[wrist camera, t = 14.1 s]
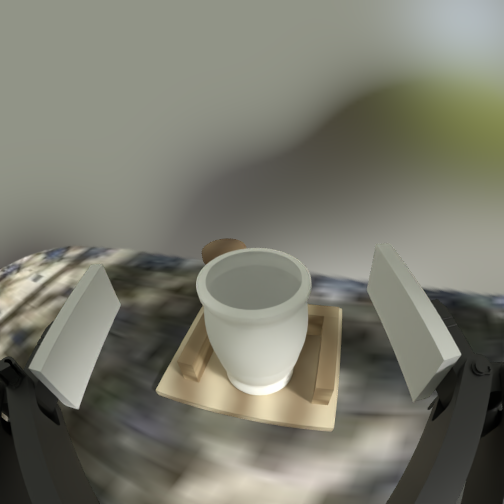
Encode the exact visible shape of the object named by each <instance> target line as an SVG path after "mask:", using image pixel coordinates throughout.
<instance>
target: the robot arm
mask: <svg viewBox="0 0 504 504" xmlns="http://www.w3.org/2000/svg"><path fill="white" fill-rule="evenodd" d="M367 292H368V294H369V296H370V298H371V300H372V302H373V304H374V307H375V309H376V311H377V313H378V315H379V318H380V320H381V322H382V324H383V327H384V329H385V331H386V333H387V336H388V338H389V341H390V343H391V345H392V348H393V350H394V353H395V355H396V358H397V360H398V363H399V365H400V368H401V370H402V373H403V376H404V378H405V381H406V384H407V386H408V389H409V392H410V395H411V397H412V400H413V402H416V401H419V400H422V399H425V398H428V397H430V396H431V394H432V393H433V392H434V391H435V389H436V391H437V393H438V396H437V397H436V399H435V400H434V401H433V402H432V403H431V404H430V406H429V407H428V410H430V409H431V408H432V407H433V408H432V411H431V414H430V416H429V419H428V422H427V424H426V427H425V429H424V432H423V434H422V436H421V439H420V441H419V443H418V445H417V448H416V450H415V452H414V454H413V456H412V458H411V460H410V462H409V464H408V466H407V468H406V470H405V472H404V474H403V476H402V477H401V479H400V481H399V483H398V485H397V486H396V488H395V490H394V491H393V493H392V495H391V496H390V498H389V500H388V501H387V503H386V504H456V502H457V500H458V498H459V496H460V494H461V491H462V489H463V487H464V484H465V482H466V484H465V488H464V493H463V497H462V501H461V504H504V362H497V363H490V361H489V360H488V359H487V358H486V357H484V356H483V355H480V354H475V353H474V352H473V350H472V349H471V347H470V345H469V343H468V342H467V340H466V338H465V336H464V335H463V333H462V331H461V330H460V328H459V326H457V323H456V321H455V320H454V318H452V315H451V313H450V312H449V310H448V309H447V307H446V306H445V305H443V304H442V303H441V302H440V301H439V300H437V299H436V300H431V301H430V300H429V298H428V296H427V295H426V293H425V292H424V290H423V289H422V287H421V286H420V284H419V283H418V281H417V280H416V279H415V277H414V276H413V274H412V273H411V271H410V270H409V268H408V267H407V266H406V264H405V263H404V261H403V260H402V259H401V257H400V256H399V255H398V253H397V252H396V250H395V249H394V248H393V247H392V245H391V244H390V243H386V244H385V243H383V244H376V246H375V252H374V257H373V262H372V267H371V272H370V277H369V282H368V287H367ZM120 306H121V304H120V302H119V300H118V298H117V296H116V294H115V291H114V289H113V287H112V285H111V283H110V280H109V278H108V276H107V273H106V271H105V269H104V266H103V264H94V265H90V267H89V268H88V270H87V271H86V273H85V274H84V275H83V277H82V278H81V280H80V281H79V283H78V284H77V286H76V287H75V289H74V290H73V292H72V293H71V295H70V296H69V298H68V299H67V301H66V302H65V304H64V306H63V307H62V309H61V310H60V312H59V314H58V315H57V317H56V319H55V320H54V321H53V322H52V323H51V324H50V325H49V326H48V327H47V328H46V329H45V331H44V332H43V334H42V336H41V339H40V340H39V341H38V343H37V345H36V347H35V349H34V350H33V352H32V354H31V356H30V358H29V360H28V362H27V364H26V366H25V368H24V370H23V369H22V368H21V367H20V366H19V365H18V364H17V362H16V361H15V360H14V359H13V358H12V357H5V358H3V359H2V360H1V361H0V504H100V503H99V501H98V499H97V497H96V496H95V494H94V492H93V490H92V488H91V486H90V484H89V482H88V480H87V478H86V475H85V473H84V471H83V469H82V467H81V464H80V462H79V460H78V457H77V455H76V452H75V450H74V447H73V445H72V442H71V439H70V437H69V434H68V431H67V428H66V425H65V422H64V419H63V416H62V412H61V409H60V407H59V405H58V404H57V401H58V399H59V400H60V401H61V402H62V403H63V404H64V405H66V406H68V407H72V408H75V409H79V406H80V403H81V400H82V398H83V395H84V392H85V389H86V386H87V384H88V381H89V378H90V376H91V373H92V371H93V368H94V365H95V363H96V360H97V358H98V356H99V353H100V351H101V348H102V346H103V344H104V341H105V339H106V337H107V334H108V332H109V330H110V327H111V325H112V323H113V321H114V319H115V316H116V314H117V312H118V310H119V308H120ZM501 404H502V408H501ZM2 412H3V413H4V414H5V415H6V416H8V422H7V421H5V420H4V419H3V418H2V417H1V414H2Z"/></svg>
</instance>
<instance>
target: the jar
mask: <svg viewBox="0 0 504 504" xmlns="http://www.w3.org/2000/svg"><path fill="white" fill-rule="evenodd" d="M196 289H197V293H198V296H199V299H200V301H201V303H202V305H203V306H204V318H205V326H206V331H207V334H208V338H209V341H210V343H211V345H212V348H213V350H214V351H215V353H216V355H217V357H218V358H219V360H220V362H221V364H222V365H223V367H224V368H225V370H226V371H227V376H228V378H229V380H230V382H231V383H232V384H233V385H234V386H235V387H236V388H237V389H239V390H240V391H242V392H245V393H247V394H251V395H268V394H272V393H275V392H277V391H279V390H281V389H282V388H283V387H285V386H286V385H287V384H288V382H289V381H290V379H291V377H292V374H293V367H294V366H295V364H296V362H297V360H298V357H299V354H300V352H301V350H302V347H303V345H304V342H305V338H306V334H307V328H308V306H307V300H308V298H309V295H310V292H311V276H310V273H309V271H308V269H307V268H306V266H305V265H304V264H303V263H302V262H301V261H299V260H298V259H297V258H295V257H293V256H291V255H289V254H287V253H284V252H281V251H278V250H273V249H266V248H247V249H240V250H235V251H231V252H228V253H225V254H223V255H220V256H218V257H216V258H215V259H213V260H211V261H210V262H209V263H207V264H206V265H205V266H204V267H203V269H202V270H201V271H200V273H199V275H198V277H197V281H196Z"/></svg>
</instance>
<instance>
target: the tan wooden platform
mask: <svg viewBox="0 0 504 504" xmlns="http://www.w3.org/2000/svg"><path fill="white" fill-rule="evenodd" d="M240 249H246V246H245V244H244V243H243V242H241V241H239V240H236V239H219V240H215V241H213V242H210V243H209V244H207V245H206V246H205V247H204V248H203V249H202V258H203V262H204V263H205V264H207V263H209V262H210V261H211V260H213V259H215V258H216V257H218V256H220V255H223V254H225V253H228V252H231V251H235V250H240ZM307 306H308V328H307V334H306V338H305V342H304V345H303V347H302V350H301V352H300V354H299V357H298V360H297V362H296V364H295V366H294V367H293V374H292V377H291V379H290V381H289V382H288V384H287V385H286V386H285V387H283V388H282V389H281V390H279V391H277V392H275V393H272V394H268V395H251V394H247V393H245V392H242V391H240V390H239V389H237V388H236V387H235V386H234V385H233V384H232V383H231V382H230V380H229V378H228V376H227V371H226V370H225V368H224V367H223V365H222V364H221V362H220V360H219V358H218V357H217V355H216V353H215V351H214V350H213V348H212V345H211V343H210V341H209V338H208V334H207V331H206V326H205V318H204V306H202V307H201V309H200V311H199V313H198V314H197V316H196V318H195V320H194V322H193V323H192V325H191V327H190V329H189V330H188V332H187V334H186V336H185V338H184V339H183V341H182V343H181V345H180V347H179V348H178V350H177V352H176V354H175V356H174V357H173V359H172V361H171V363H170V365H169V367H168V368H167V370H166V372H165V374H164V376H163V377H162V379H161V381H160V383H159V385H158V387H157V388H156V392H157V393H158V395H161V396H163V397H166V398H169V399H172V400H175V401H178V402H182V403H185V404H188V405H191V406H195V407H198V408H202V409H205V410H209V411H213V412H216V413H220V414H224V415H229V416H233V417H237V418H242V419H247V420H251V421H257V422H262V423H267V424H273V425H280V426H286V427H293V428H301V429H310V430H320V431H332V430H333V428H334V422H335V413H336V404H337V394H338V383H339V369H340V354H341V331H342V309H339V307H331V306H320V305H311V304H307Z"/></svg>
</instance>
